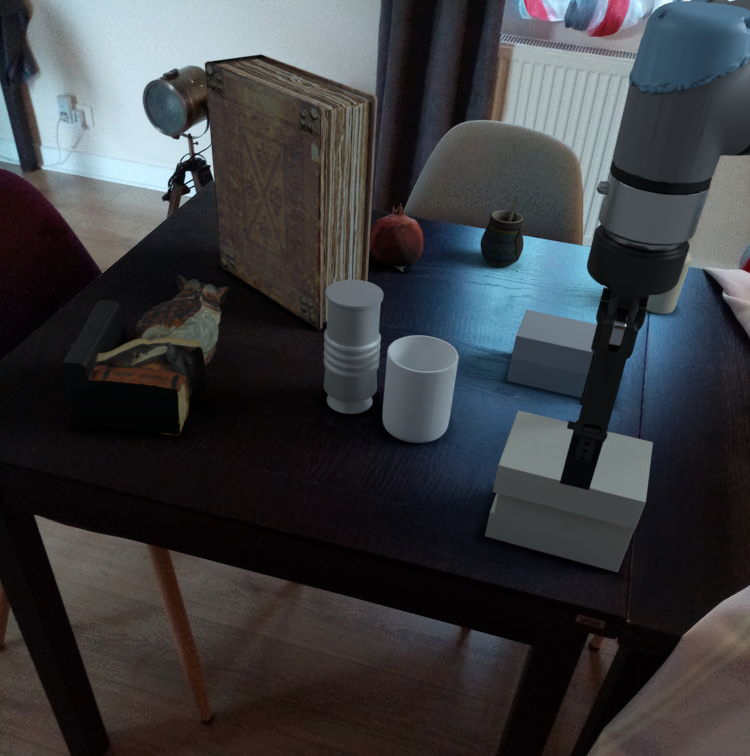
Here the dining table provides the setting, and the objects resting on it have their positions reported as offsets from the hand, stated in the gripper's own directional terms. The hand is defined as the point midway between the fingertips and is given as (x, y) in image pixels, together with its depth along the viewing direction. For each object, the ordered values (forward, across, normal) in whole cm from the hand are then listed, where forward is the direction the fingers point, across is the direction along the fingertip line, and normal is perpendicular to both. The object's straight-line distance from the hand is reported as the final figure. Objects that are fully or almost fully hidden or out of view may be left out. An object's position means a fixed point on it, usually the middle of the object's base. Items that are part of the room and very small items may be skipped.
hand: (584, 442), depth 77 cm
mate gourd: (+12, -64, -20) cm, 68 cm away
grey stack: (+12, -31, -4) cm, 33 cm away
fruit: (+12, -55, -36) cm, 67 cm away
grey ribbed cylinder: (+12, -14, -29) cm, 35 cm away
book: (+12, -39, -48) cm, 63 cm away
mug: (+12, -14, -20) cm, 27 cm away
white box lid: (+5, 0, 0) cm, 5 cm away
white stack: (+12, 0, 0) cm, 12 cm away
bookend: (+11, -9, -54) cm, 55 cm away
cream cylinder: (+12, -59, +7) cm, 60 cm away
